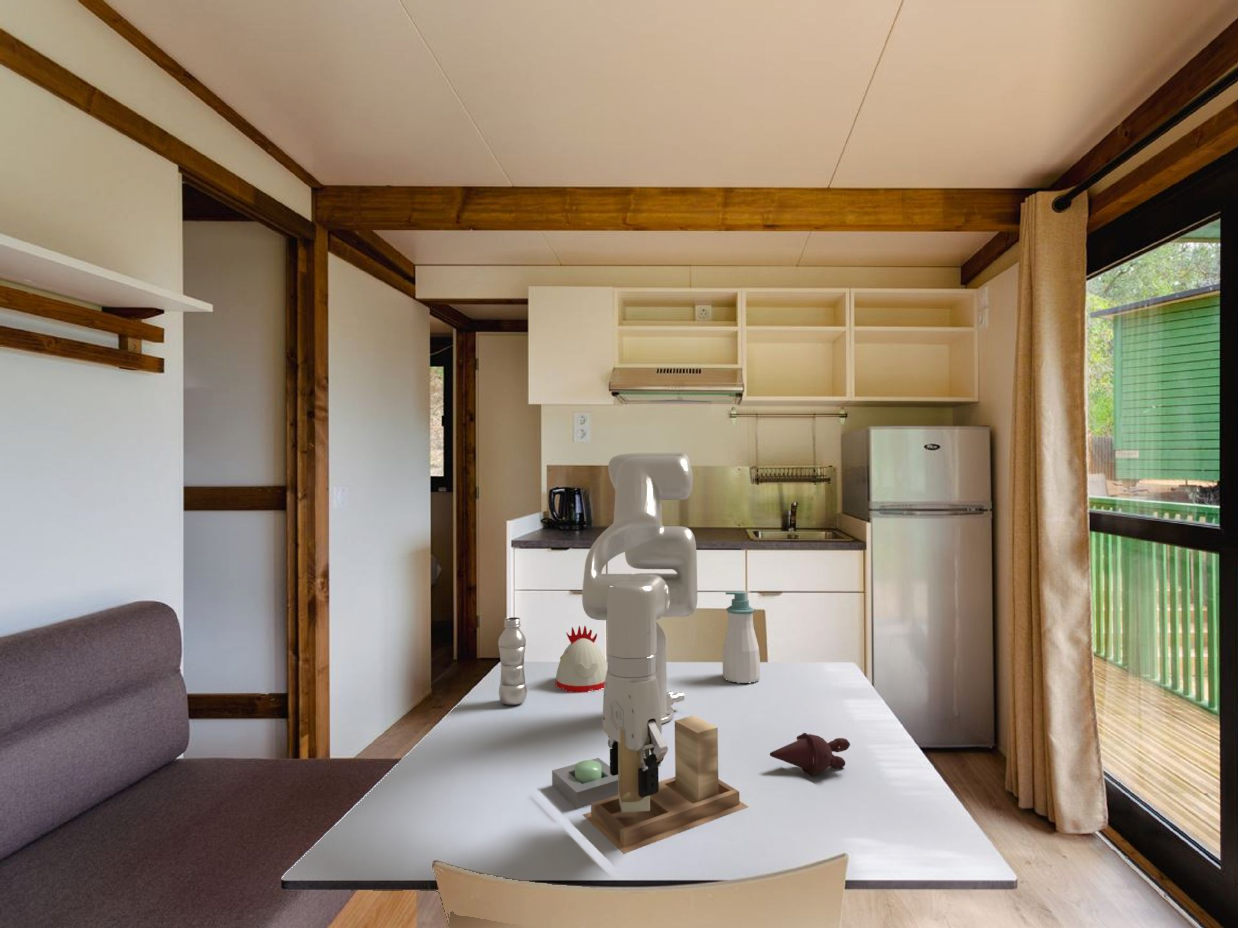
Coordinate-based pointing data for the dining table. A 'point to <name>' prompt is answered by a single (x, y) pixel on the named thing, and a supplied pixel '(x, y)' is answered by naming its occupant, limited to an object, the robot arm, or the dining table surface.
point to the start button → (587, 771)
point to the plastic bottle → (512, 663)
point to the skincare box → (630, 778)
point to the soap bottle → (740, 642)
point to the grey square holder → (584, 785)
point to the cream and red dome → (581, 664)
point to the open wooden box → (660, 815)
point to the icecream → (813, 753)
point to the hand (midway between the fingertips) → (633, 782)
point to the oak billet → (696, 759)
